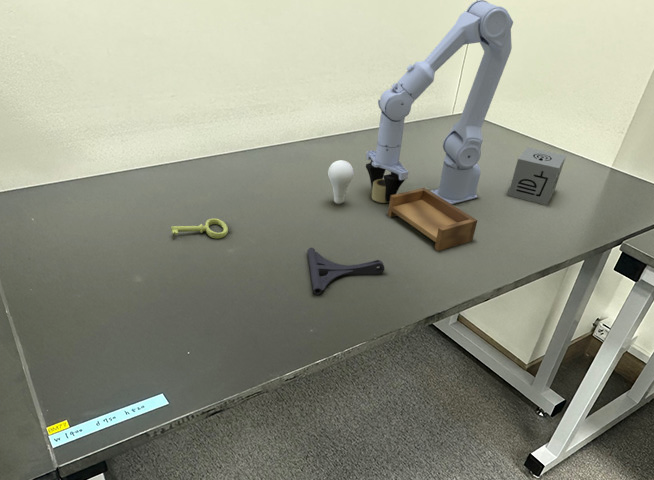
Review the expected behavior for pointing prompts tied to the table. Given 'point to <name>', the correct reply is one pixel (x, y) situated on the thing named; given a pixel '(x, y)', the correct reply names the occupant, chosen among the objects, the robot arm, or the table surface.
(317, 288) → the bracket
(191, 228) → the key
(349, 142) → the table surface
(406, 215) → the shelf
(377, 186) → the tape roll
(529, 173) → the icon cube
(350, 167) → the lightbulb
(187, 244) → the table surface
